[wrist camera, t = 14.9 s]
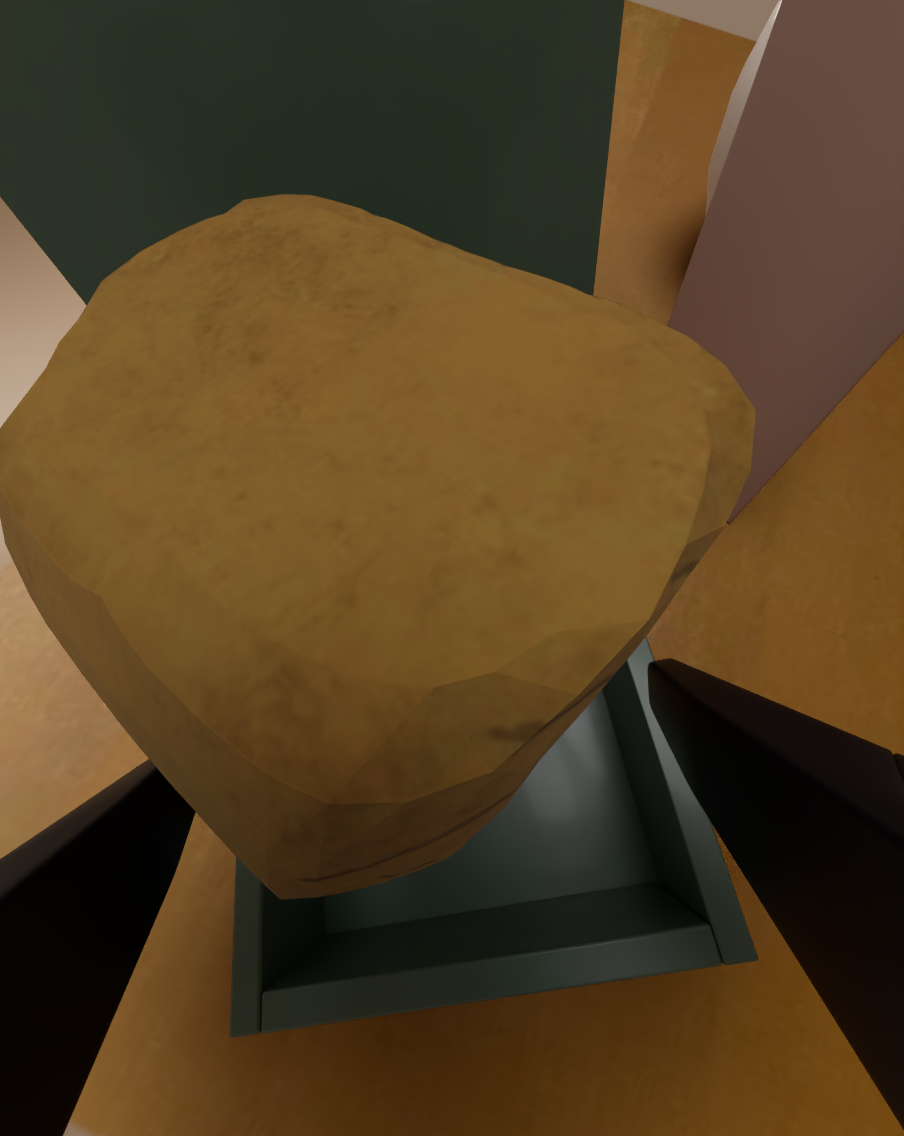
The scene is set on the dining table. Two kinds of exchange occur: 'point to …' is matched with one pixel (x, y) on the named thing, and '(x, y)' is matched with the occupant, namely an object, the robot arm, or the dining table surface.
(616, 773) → the green open box
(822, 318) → the greeting card
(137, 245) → the box lid
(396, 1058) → the dining table surface
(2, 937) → the robot arm
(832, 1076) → the dining table surface
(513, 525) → the figurine
